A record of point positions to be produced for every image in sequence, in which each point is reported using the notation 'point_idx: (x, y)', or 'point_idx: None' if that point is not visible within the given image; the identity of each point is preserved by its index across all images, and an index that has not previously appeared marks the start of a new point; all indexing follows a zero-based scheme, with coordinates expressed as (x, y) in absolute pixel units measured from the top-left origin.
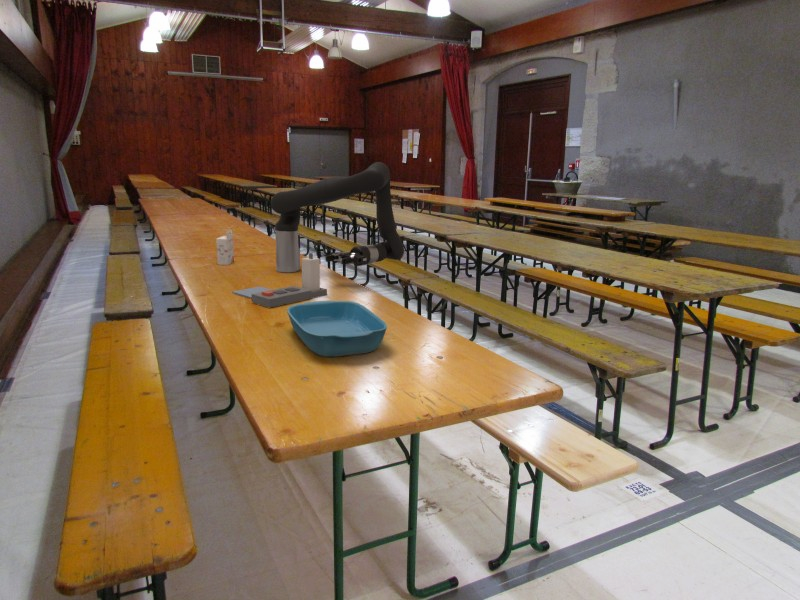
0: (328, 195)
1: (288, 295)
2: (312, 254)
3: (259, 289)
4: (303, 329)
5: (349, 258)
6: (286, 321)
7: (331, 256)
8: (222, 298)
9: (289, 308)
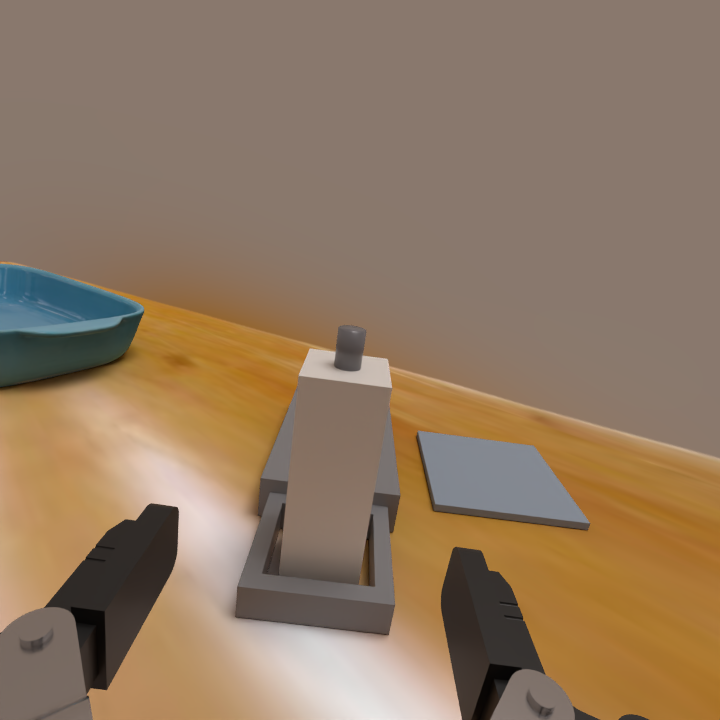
0: None
1: (286, 414)
2: (338, 336)
3: (527, 493)
4: (46, 271)
5: (82, 601)
6: (176, 371)
7: (470, 624)
8: (479, 418)
9: (137, 306)
